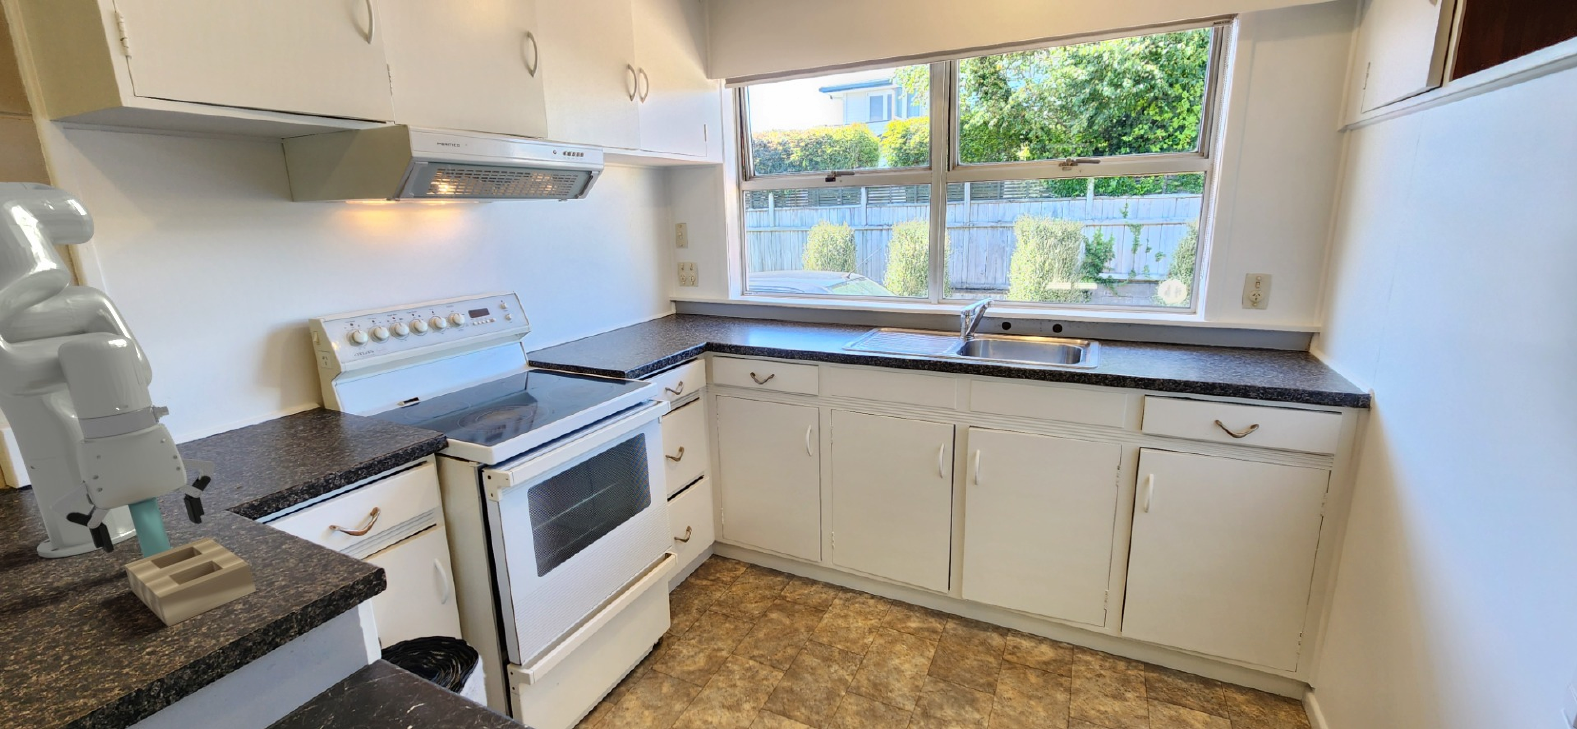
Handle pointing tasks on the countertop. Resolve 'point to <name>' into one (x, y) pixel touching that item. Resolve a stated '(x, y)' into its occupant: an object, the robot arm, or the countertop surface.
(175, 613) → the hole block
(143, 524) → the peg
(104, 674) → the countertop surface
